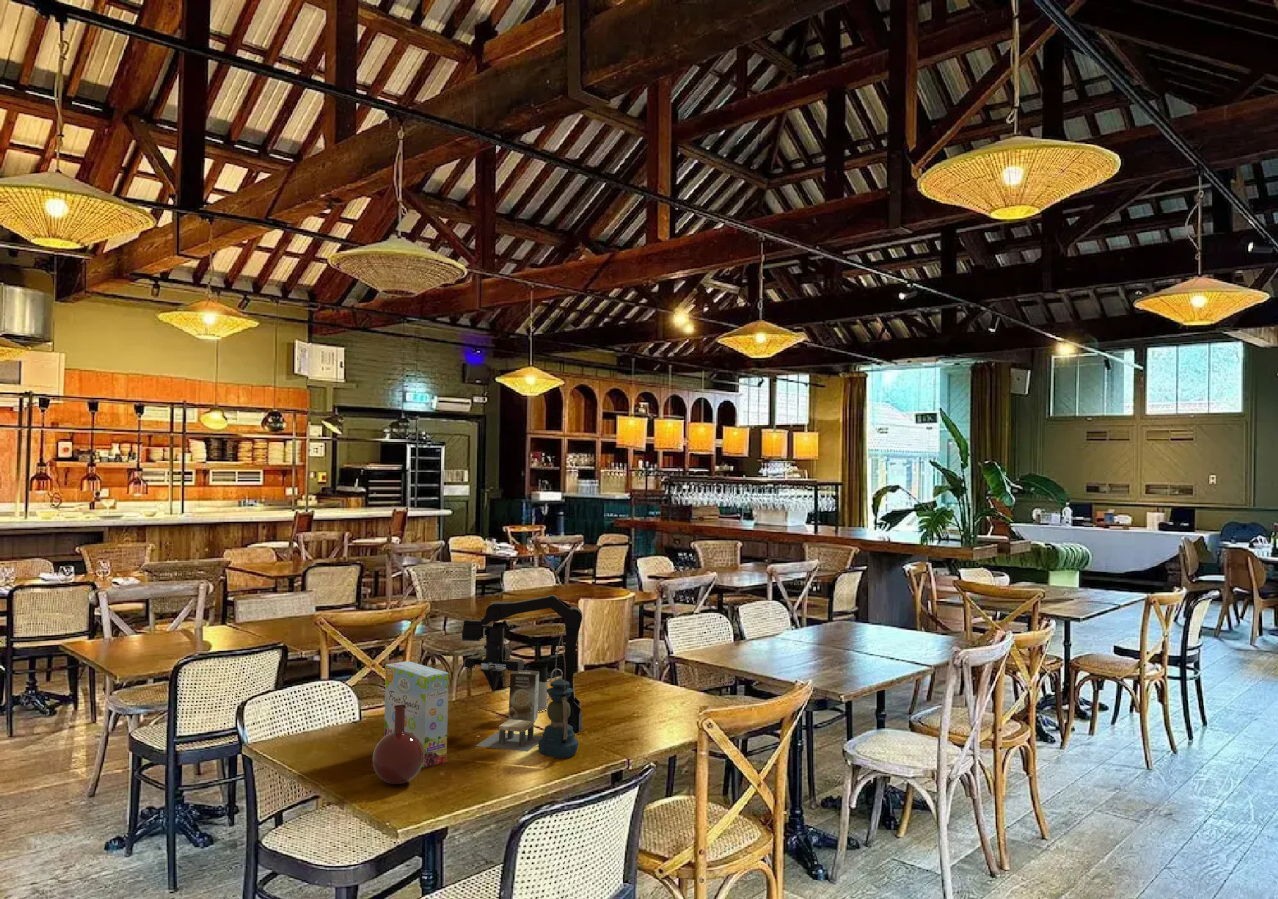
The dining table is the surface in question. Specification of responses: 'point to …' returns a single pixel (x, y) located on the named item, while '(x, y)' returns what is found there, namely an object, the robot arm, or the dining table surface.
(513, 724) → the footstool
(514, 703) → the coffee box
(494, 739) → the rubber mat
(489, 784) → the dining table surface
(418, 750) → the round-bottom flask
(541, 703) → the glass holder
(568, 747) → the lantern
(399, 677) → the snack box
